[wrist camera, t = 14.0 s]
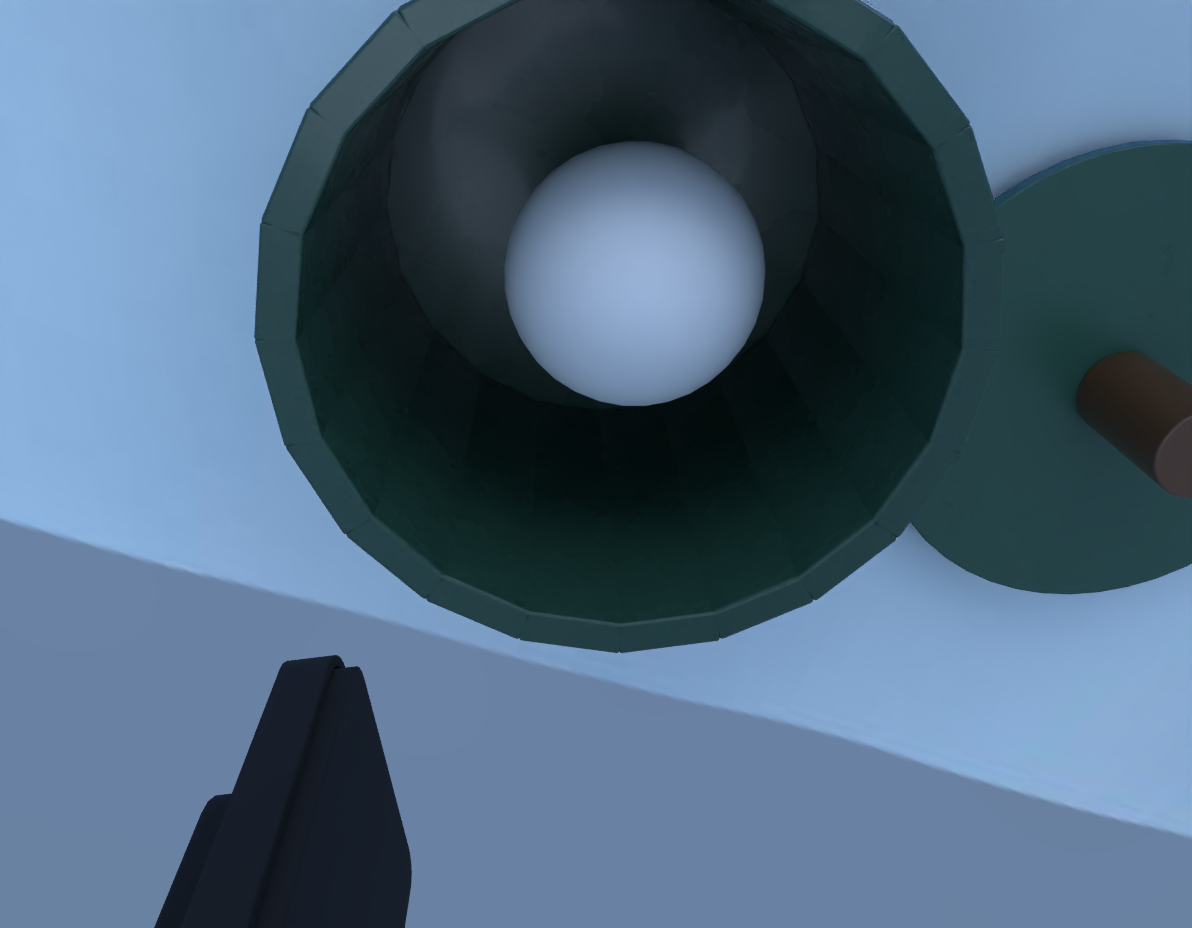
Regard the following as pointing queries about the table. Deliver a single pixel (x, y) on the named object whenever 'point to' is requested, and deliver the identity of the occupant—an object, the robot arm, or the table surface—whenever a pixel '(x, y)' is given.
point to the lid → (1084, 384)
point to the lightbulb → (634, 273)
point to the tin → (603, 430)
